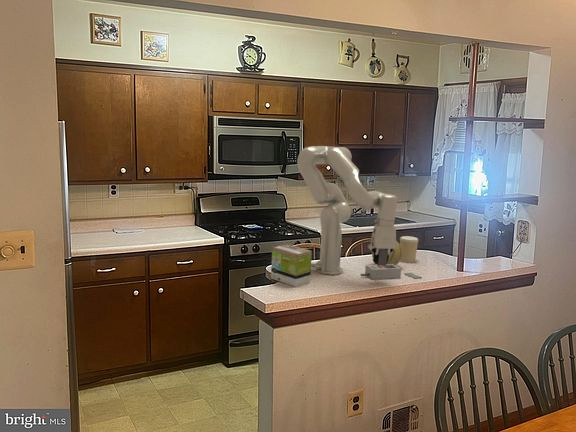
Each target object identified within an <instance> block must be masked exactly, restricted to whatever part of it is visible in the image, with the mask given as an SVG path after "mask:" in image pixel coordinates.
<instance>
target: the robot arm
mask: <svg viewBox="0 0 576 432" xmlns="http://www.w3.org/2000/svg"><path fill="white" fill-rule="evenodd" d="M352 157H353V156H352V153H351V150H350V149H349V148H347V147H344V146H329V145H328V146H327V145H317V146H316V145H311V146H306V147H304V148H303V149H302V150H300V152H299V154H298V157H297V160H296V161H297V162H296V163H297V168H298V171H299V173H300V175H301V176H302V178H303V180H304V182H305V184H306V186H307V188H308V190H309V192H310V194H311V196H312V198H313V201H314V202H316V203H317V204H318V205H325V204H326V206H324V207H323V208H322V210H321V211H320V217H319V219H320V226H321V228H320V229H321V230H320V234H321V235H320V254H319V260H317V262H315V263H314V262H311V268H314V269H315V271H316V272H317V273H319V274H323V275H329V276H330V275H333V276H334V275H340V274H343V273H344V269H343V268H342V267H341V255H342V254H341V252H342V238H343V237H342V236H343V232H342V227H341V224H342V223H345V222H347V221H348V220H350V218H351V214H352V212H351V207H350V205H349V203H348V201H347V200H346V197H345V196H344V194H343V191H342V190H341V188H340V187H339V186H338V185H337V184H336V183H333V182H327V181H326V180H325V178H324V175H323V174H322V171H320V170H319V169H318V168H317V166H316V165H329V167H331V169H333V171H334V172H335V173H336V174H337V175H338V176H339V178H340V179H341V180H342V181H343V184H344V186H345V189H346V192H347V194H348V195H349V197H350V198H351V199H352V201H353V202H354V203H355V204H356V205H357V206H358V207H359V208H361V209H362V210H365V211H366V210H367V211H368V210H372V209H377V208H378V209H377V217H376V219H374V221H373V222H374V223H375V224H374V227H373V229H372V233H371V239H370V242H369V244H367V248H368V249H369V250H370V251H371V253H372V252H373V253H374V256H373V257H372V261H373V263H374V264H375V263H376V264H378V258H379V255H378V252H379V249H387V250H388V255H387V262H388V258H389V255H390V253H391V252H392V251H393V250H395V249H396V248H397V246H396V241H397V230H396V229H397V228H396V225H395V219H396V212H397V205H398V197H397V196H396V195H395V194H390V193H383V192H381V191H379V190H371V191H368V190H367V189H365V187H364V185H362V182H361V181H360V179H359V175H360V169H359V168H358V167H357V166H356V165H355V163H353V161H352ZM373 246H374V248H373ZM376 264H375V265H376ZM386 264H387V263H386Z"/></svg>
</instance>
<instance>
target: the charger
mask: <svg viewBox="0 0 576 432" xmlns="http://www.w3.org/2000/svg"><path fill="white" fill-rule="evenodd" d="M378 255H379V258H378V264H376V263H374V265H378V266H386V263H387V255H388V250H387V249H379V252H378Z"/></svg>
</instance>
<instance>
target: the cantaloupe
mask: <svg viewBox="0 0 576 432" xmlns="http://www.w3.org/2000/svg"><path fill="white" fill-rule="evenodd" d="M396 246H397V248H396V249H395V250H393V251H392V252H391V253H390V255H389V258H388V262H387V264H394V265H396V266H397V265H398V264H399V263H400V262H401V261H400V260H401V258H402V247H401V245H400V242H398V240H396ZM372 248H374V246H372ZM371 256H372V258H373V256H374V253H373V252H372V251H371Z"/></svg>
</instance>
